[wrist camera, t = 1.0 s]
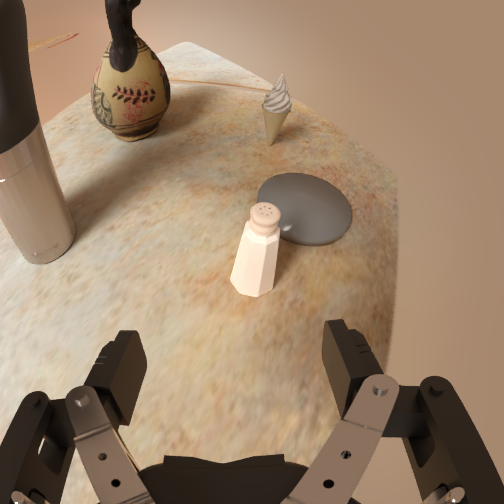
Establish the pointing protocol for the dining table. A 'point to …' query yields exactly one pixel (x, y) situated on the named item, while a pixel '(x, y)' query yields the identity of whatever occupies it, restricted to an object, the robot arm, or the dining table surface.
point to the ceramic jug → (128, 79)
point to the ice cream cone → (276, 108)
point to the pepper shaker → (257, 251)
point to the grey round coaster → (307, 208)
